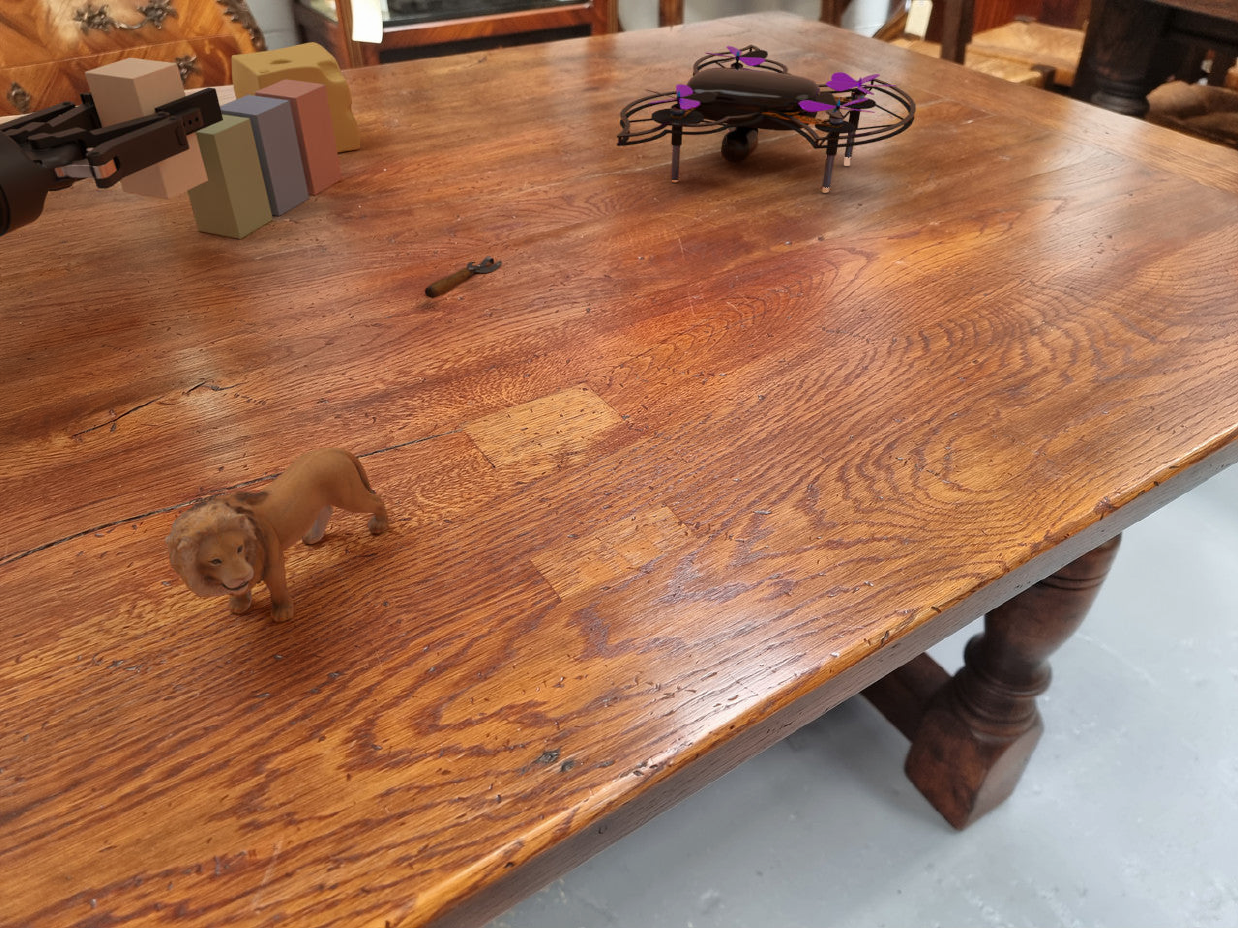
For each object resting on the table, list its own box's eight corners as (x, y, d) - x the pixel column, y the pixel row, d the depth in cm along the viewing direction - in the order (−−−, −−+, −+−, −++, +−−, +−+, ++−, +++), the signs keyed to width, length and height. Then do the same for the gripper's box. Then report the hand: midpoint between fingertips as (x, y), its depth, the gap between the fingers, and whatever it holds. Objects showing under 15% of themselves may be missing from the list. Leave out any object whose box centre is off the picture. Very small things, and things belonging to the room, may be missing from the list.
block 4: (275, 188, 99) (254, 92, 93) (304, 173, 103) (285, 79, 96) (315, 195, 98) (295, 97, 91) (342, 179, 101) (325, 84, 95)
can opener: (433, 301, 80) (431, 289, 79) (415, 293, 81) (413, 281, 80) (508, 267, 85) (507, 255, 84) (491, 260, 86) (490, 249, 86)
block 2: (198, 231, 90) (168, 127, 84) (232, 212, 94) (206, 111, 88) (240, 239, 89) (213, 134, 82) (273, 220, 92) (249, 118, 86)
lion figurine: (264, 683, 47) (218, 553, 41) (177, 655, 48) (122, 525, 42) (409, 506, 58) (389, 385, 52) (335, 488, 59) (308, 367, 53)
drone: (727, 26, 118) (950, 52, 109) (721, 104, 124) (932, 135, 115) (586, 112, 90) (872, 157, 80) (587, 208, 96) (853, 260, 86)
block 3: (238, 209, 94) (213, 108, 88) (269, 192, 98) (247, 94, 92) (279, 216, 93) (256, 115, 87) (309, 198, 97) (289, 100, 91)
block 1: (123, 192, 81) (83, 72, 75) (164, 173, 84) (129, 57, 78) (168, 200, 79) (132, 78, 73) (208, 180, 83) (177, 63, 77)
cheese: (363, 150, 109) (349, 60, 103) (272, 167, 104) (251, 74, 98) (331, 126, 115) (316, 40, 109) (244, 141, 111) (223, 52, 105)
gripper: (-109, 222, 70) (123, 130, 87) (76, 260, 65) (283, 155, 82) (-159, 121, 65) (96, 45, 82) (36, 153, 60) (264, 66, 77)
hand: (189, 100), depth 82 cm, fingers closed on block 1, 5 cm apart
